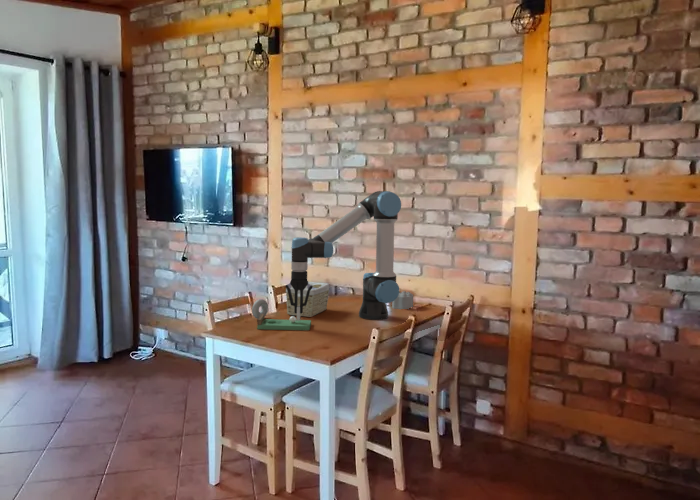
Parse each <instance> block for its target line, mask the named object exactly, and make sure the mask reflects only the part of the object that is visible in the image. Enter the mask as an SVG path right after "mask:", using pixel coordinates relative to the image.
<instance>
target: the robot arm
mask: <svg viewBox="0 0 700 500" xmlns="http://www.w3.org/2000/svg"><path fill="white" fill-rule="evenodd" d="M401 209H402V201H401V199H400V197H399V195H397V193H395V192H392V191H389V190H388V191H387V190H386V191H385V190H376V191H374V192H372V193H370V194H369V195H368V196H367V197H365V198H364V199H362V200H361V201H360V202H358V204H357V206H355V208H353V209H352V210H350V212H348V213H346V214H345V215H344V216H342V217H341V218H340V219H338V220H336V221H335V222H333V223H332V224H331V225H329V226H328V227H327V228H325V229H324V230H323V231H320V232H319V233H318V234H317V235H315V236H314V237H313V238H309V239H308V238H307V237H300V236H299V237H296V236H295V237H293V238H292V241H291V267H290V268H291V271H290V282H289V283H287V284H285V290H286V289H287V290H288V295H289V299H290V304H291V305H293V306H294V307H295V309H294V312H295V313H297V316H296V320H297V321H300V320H301V316H300V313H302V312H303V306H306V304H307V301H308V297H309V293H310V290H311V289H312V290H313V286H312V285H310V284H308V282H309V281H308V265H309V263H308V259H312V258H314V259H315V258H316V259H318V258H319V259H323V258H324V259H326V258H329V259H330V258H332V257H333V255H334V245H333V243H334V242H336V241H337V240H339V239H340V238H341V237H343V236H345V235H346V234H347V233H348V232H350V231H351V230H352V229H354V228H356V226H358V225H360V224H361V223H362V222H364V221H365V220H370V219H372V218H373V220H374V221H375V222H376V239H375V241H376V249H375V252H376V253H375V271H374V272H364V273H363V278H362V303H361V305H360V308H359V311H358V317H359V318H361V319H365V320H372V321H373V320H375V321H376V320H377V321H379V320H385V319H388V318H389V311H388V307H387V304H390V303H392V302H393V301H394V300H395V299H396V298H397V297H398V295H399V292H400V285H399V284H398V283H397V274H396V273H395V272H394V257H395V256H394V254H395V249H394V247H395V223H396V222H397V221H398V214H399V212H400V211H401ZM291 286H292V287H293V289H294V290H295V303H294V302H293V298H292V293H291V289H290V288H291ZM306 286H308V287H307V288H308V291H307V294H306V298H305V302H304V303H303V290H304V289H305V287H306ZM298 290H300V306H297V305H298Z"/></svg>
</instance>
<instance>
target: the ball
mask: <svg viewBox="0 0 700 500" xmlns="http://www.w3.org/2000/svg"><path fill="white" fill-rule="evenodd" d="M288 320H290V322H291V323H294V322H296V320H297V316H296V317H295V315H290V317H289V319H288Z"/></svg>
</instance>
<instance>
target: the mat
mask: <svg viewBox="0 0 700 500" xmlns="http://www.w3.org/2000/svg"><path fill="white" fill-rule="evenodd" d="M256 326H257V327H256V329H257V330H270V331H271V330H274V331H276V330H277V331H279V330H280V331H281V330H283V331H310V330H311V326H312V319H311V320H310V319H300V321H297V319H296V322H294V323H291V322H290V320H289V319H270V318H266V319H264V321H263V322H262V324H261V325H256Z"/></svg>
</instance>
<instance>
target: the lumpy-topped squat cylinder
mask: <svg viewBox="0 0 700 500" xmlns="http://www.w3.org/2000/svg"><path fill="white" fill-rule="evenodd" d="M391 305H392V306H391V308H392V309H396V310H401V309H408V310H410V309H409V308H411V307H413V308H414V294H413V293H411V292H410V291H405V290H403V291H402V292H400V291H399V295H398V297H397V298H396V299H395V300H394V301H393V302H391ZM411 309H412V308H411Z"/></svg>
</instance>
